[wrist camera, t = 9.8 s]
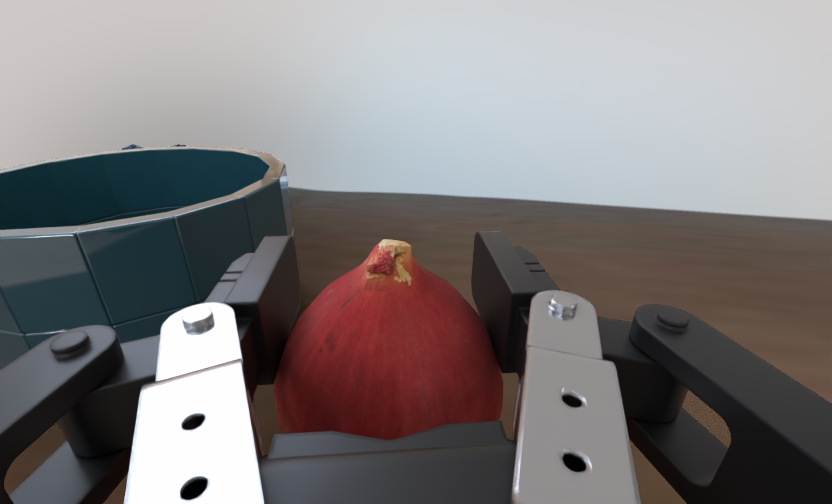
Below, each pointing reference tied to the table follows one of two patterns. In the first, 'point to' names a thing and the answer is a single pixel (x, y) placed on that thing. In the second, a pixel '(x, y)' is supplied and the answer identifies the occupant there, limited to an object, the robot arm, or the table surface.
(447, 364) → the onion
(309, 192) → the table surface
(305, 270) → the table surface
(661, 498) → the table surface
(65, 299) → the pot
